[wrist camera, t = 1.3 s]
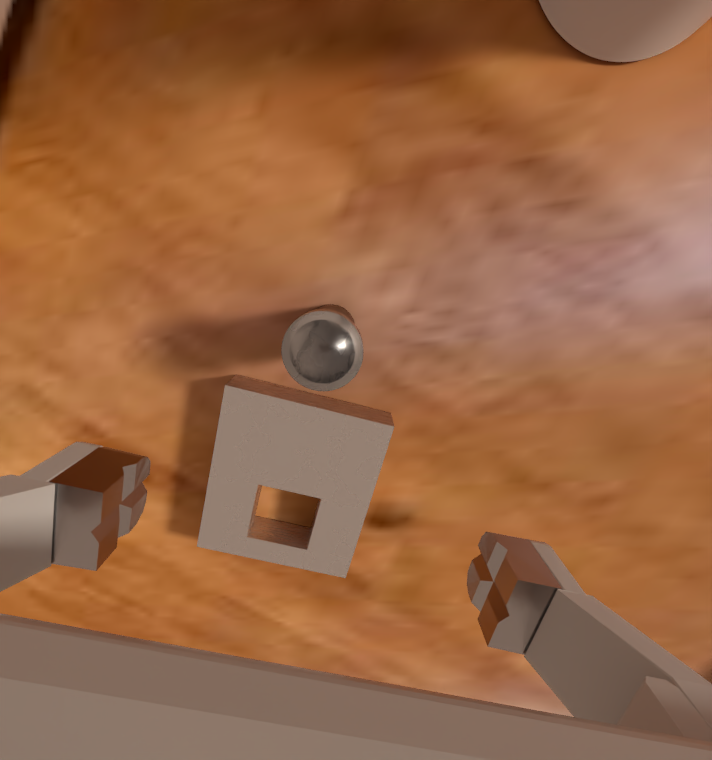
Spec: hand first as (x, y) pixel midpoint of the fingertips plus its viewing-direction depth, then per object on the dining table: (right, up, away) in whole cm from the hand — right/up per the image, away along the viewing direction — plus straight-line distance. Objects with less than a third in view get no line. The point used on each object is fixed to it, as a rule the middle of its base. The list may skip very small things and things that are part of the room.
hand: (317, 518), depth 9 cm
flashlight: (-1, +8, +23) cm, 24 cm away
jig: (-5, -5, +27) cm, 28 cm away
